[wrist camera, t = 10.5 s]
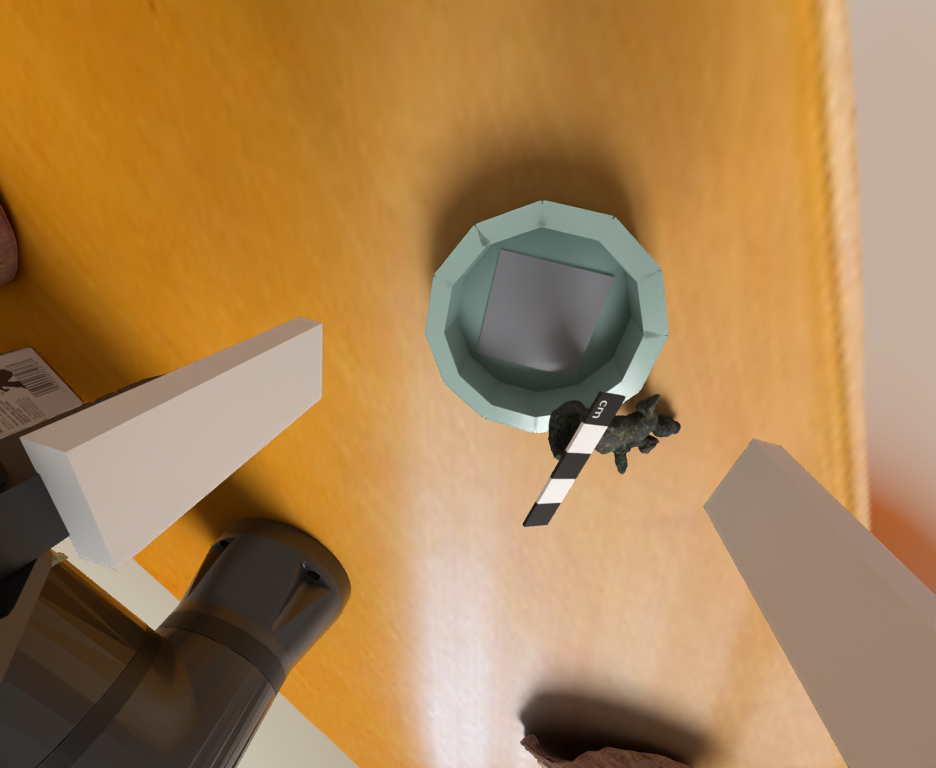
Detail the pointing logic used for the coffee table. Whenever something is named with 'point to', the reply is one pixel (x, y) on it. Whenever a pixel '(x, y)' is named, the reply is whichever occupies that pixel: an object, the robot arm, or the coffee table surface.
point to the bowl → (545, 313)
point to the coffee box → (30, 392)
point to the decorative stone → (7, 250)
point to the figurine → (595, 442)
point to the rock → (600, 758)
